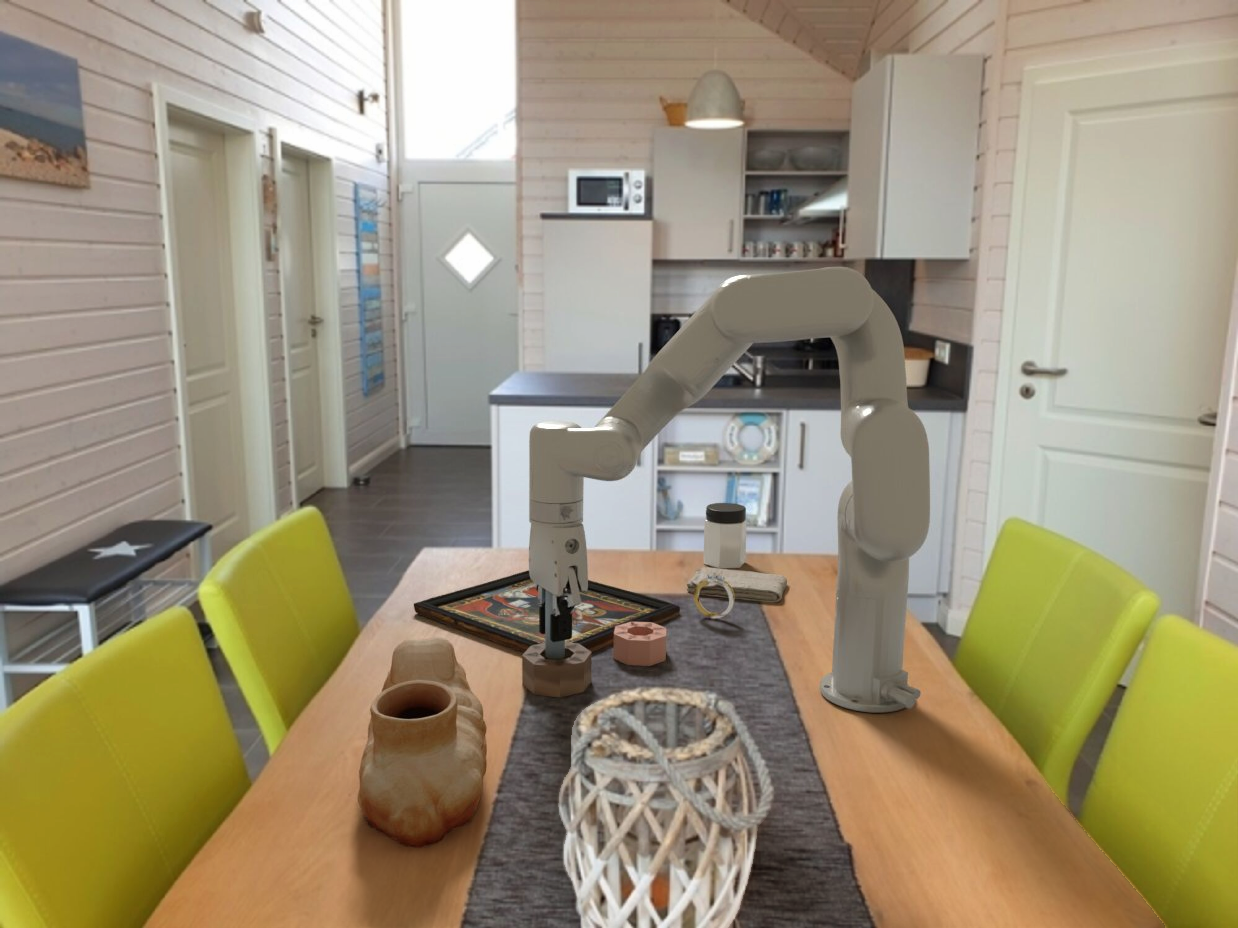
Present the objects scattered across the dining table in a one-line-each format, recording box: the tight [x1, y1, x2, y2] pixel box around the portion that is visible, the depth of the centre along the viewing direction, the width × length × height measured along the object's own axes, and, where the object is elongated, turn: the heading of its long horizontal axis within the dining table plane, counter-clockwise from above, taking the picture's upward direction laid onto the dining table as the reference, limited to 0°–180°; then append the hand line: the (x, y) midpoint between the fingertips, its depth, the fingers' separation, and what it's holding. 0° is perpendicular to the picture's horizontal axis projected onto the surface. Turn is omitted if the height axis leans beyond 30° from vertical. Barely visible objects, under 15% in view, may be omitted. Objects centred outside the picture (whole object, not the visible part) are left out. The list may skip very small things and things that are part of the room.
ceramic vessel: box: [357, 636, 488, 849], centre depth 107 cm, size 14×26×15 cm, turn 8°
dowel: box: [545, 589, 565, 660], centre depth 136 cm, size 3×3×12 cm
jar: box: [703, 502, 748, 569], centre depth 197 cm, size 9×8×12 cm
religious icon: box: [413, 569, 681, 654], centre depth 166 cm, size 38×35×3 cm
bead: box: [521, 642, 592, 699], centre depth 137 cm, size 9×9×4 cm
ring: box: [693, 572, 735, 620], centre depth 164 cm, size 7×3×8 cm, turn 62°
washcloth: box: [686, 566, 788, 603], centre depth 181 cm, size 12×18×3 cm, turn 74°
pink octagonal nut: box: [612, 622, 667, 667], centre depth 148 cm, size 8×8×4 cm
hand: (555, 634), depth 136 cm, fingers closed on dowel, 2 cm apart
